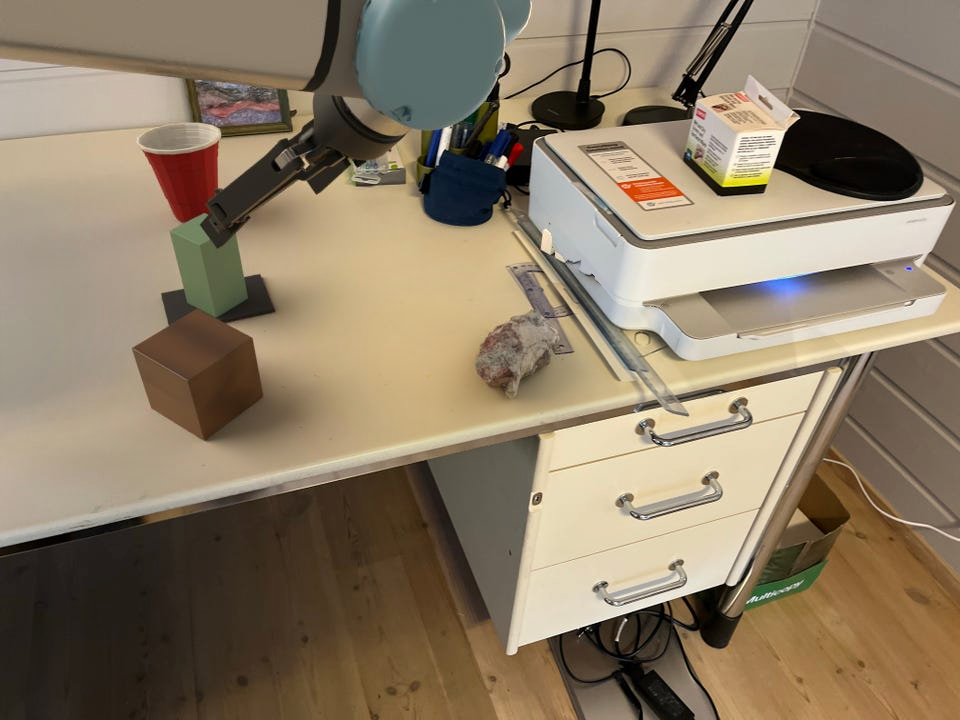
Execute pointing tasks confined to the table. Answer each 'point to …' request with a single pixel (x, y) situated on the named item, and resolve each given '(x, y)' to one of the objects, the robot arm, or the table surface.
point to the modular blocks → (549, 245)
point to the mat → (250, 307)
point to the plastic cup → (184, 165)
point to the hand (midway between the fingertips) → (263, 207)
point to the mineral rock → (515, 351)
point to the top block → (208, 269)
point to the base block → (199, 373)
